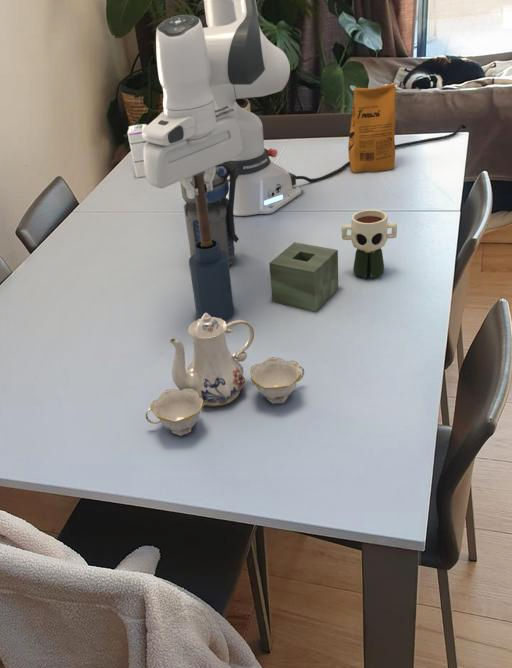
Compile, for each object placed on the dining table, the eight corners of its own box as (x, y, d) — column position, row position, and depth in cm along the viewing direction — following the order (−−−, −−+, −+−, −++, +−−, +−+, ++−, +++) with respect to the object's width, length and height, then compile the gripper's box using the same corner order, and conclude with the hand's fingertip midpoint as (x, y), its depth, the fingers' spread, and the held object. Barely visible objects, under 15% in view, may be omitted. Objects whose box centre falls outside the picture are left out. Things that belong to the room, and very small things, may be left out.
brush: (209, 276, 144) (196, 171, 131) (219, 278, 143) (206, 172, 130) (202, 281, 142) (188, 175, 130) (212, 284, 141) (199, 177, 129)
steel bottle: (217, 301, 151) (208, 232, 142) (241, 313, 146) (234, 242, 137) (189, 315, 148) (179, 246, 139) (213, 328, 143) (203, 256, 134)
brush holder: (296, 279, 154) (294, 241, 149) (338, 288, 148) (337, 249, 143) (272, 301, 148) (269, 263, 143) (315, 311, 142) (314, 272, 137)
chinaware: (167, 464, 114) (155, 387, 104) (130, 402, 126) (115, 328, 116) (317, 403, 121) (320, 326, 111) (267, 350, 133) (266, 275, 123)
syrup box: (154, 175, 220) (146, 128, 212) (135, 178, 220) (127, 131, 212) (155, 169, 225) (147, 122, 216) (136, 171, 225) (128, 125, 217)
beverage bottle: (235, 276, 159) (224, 168, 145) (182, 271, 165) (166, 167, 151) (251, 255, 166) (242, 150, 152) (199, 251, 172) (186, 150, 158)
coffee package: (348, 162, 205) (347, 83, 193) (393, 158, 203) (395, 78, 190) (349, 175, 198) (348, 93, 185) (395, 171, 195) (398, 88, 182)
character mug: (341, 281, 150) (341, 225, 143) (342, 265, 156) (342, 210, 149) (395, 280, 148) (398, 222, 140) (394, 264, 153) (396, 207, 146)
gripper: (223, 100, 131) (230, 173, 139) (133, 133, 122) (146, 209, 130) (246, 104, 127) (252, 179, 135) (155, 139, 118) (167, 217, 126)
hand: (200, 194), depth 132 cm, fingers closed on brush, 2 cm apart
